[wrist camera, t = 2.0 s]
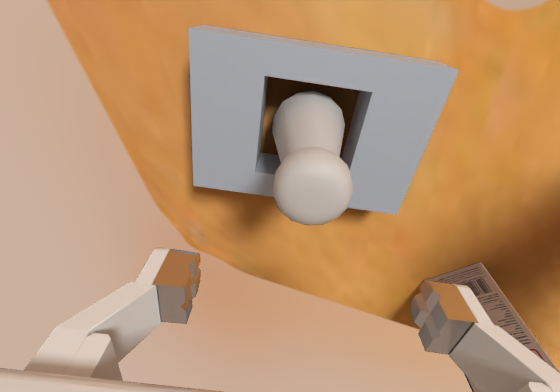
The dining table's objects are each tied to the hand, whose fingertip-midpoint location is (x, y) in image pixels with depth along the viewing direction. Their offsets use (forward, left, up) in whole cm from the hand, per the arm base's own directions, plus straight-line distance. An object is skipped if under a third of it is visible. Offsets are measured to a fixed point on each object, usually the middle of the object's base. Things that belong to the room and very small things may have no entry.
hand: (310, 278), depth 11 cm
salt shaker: (0, 0, -18) cm, 18 cm away
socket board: (0, 0, -18) cm, 18 cm away
